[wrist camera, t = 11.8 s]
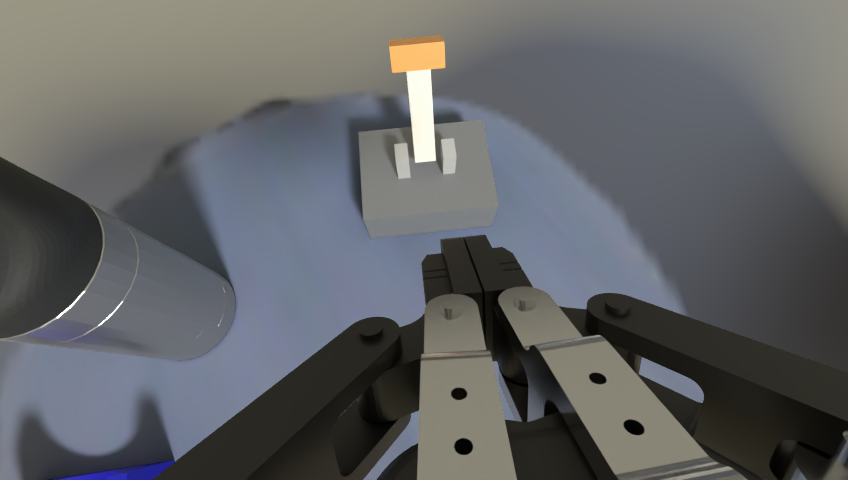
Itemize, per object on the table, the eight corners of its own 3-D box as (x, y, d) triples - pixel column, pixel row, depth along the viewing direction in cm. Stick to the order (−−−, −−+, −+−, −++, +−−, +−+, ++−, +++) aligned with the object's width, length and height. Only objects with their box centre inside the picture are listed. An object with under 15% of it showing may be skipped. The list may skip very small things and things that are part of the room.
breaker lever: (403, 166, 38) (389, 46, 31) (402, 154, 40) (389, 40, 33) (448, 161, 38) (444, 41, 31) (445, 150, 40) (440, 35, 33)
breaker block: (370, 238, 42) (357, 206, 35) (366, 158, 46) (352, 113, 38) (491, 226, 42) (504, 190, 35) (477, 147, 46) (486, 99, 39)
